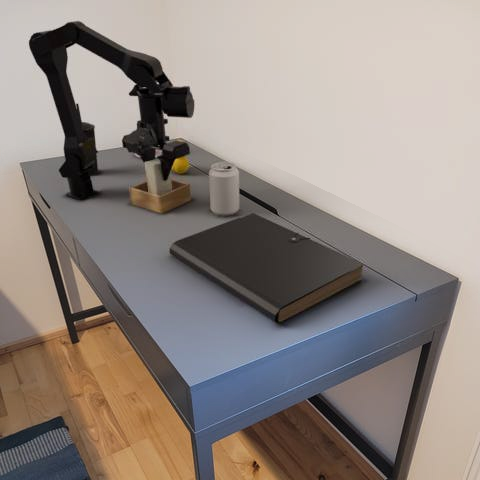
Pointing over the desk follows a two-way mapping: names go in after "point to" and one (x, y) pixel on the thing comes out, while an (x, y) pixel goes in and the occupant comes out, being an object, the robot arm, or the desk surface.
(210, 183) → the can
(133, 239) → the desk surface
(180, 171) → the duckling
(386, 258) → the desk surface
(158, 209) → the crate
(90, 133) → the drinking cup
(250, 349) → the desk surface
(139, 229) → the desk surface
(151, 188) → the box
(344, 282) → the black book
